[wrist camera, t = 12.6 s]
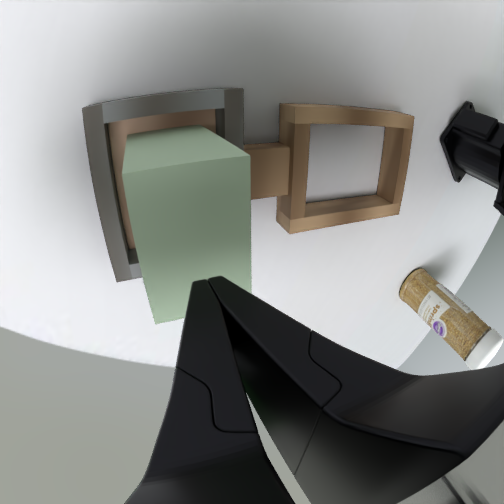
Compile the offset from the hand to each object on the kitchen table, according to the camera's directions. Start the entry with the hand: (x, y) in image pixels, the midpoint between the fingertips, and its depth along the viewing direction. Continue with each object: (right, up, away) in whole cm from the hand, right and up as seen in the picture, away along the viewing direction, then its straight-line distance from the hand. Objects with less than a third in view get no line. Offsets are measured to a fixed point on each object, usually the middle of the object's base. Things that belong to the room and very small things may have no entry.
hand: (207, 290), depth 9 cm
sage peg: (-3, +5, +8) cm, 10 cm away
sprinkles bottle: (+20, -2, +24) cm, 31 cm away
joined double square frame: (+2, +6, +10) cm, 12 cm away
